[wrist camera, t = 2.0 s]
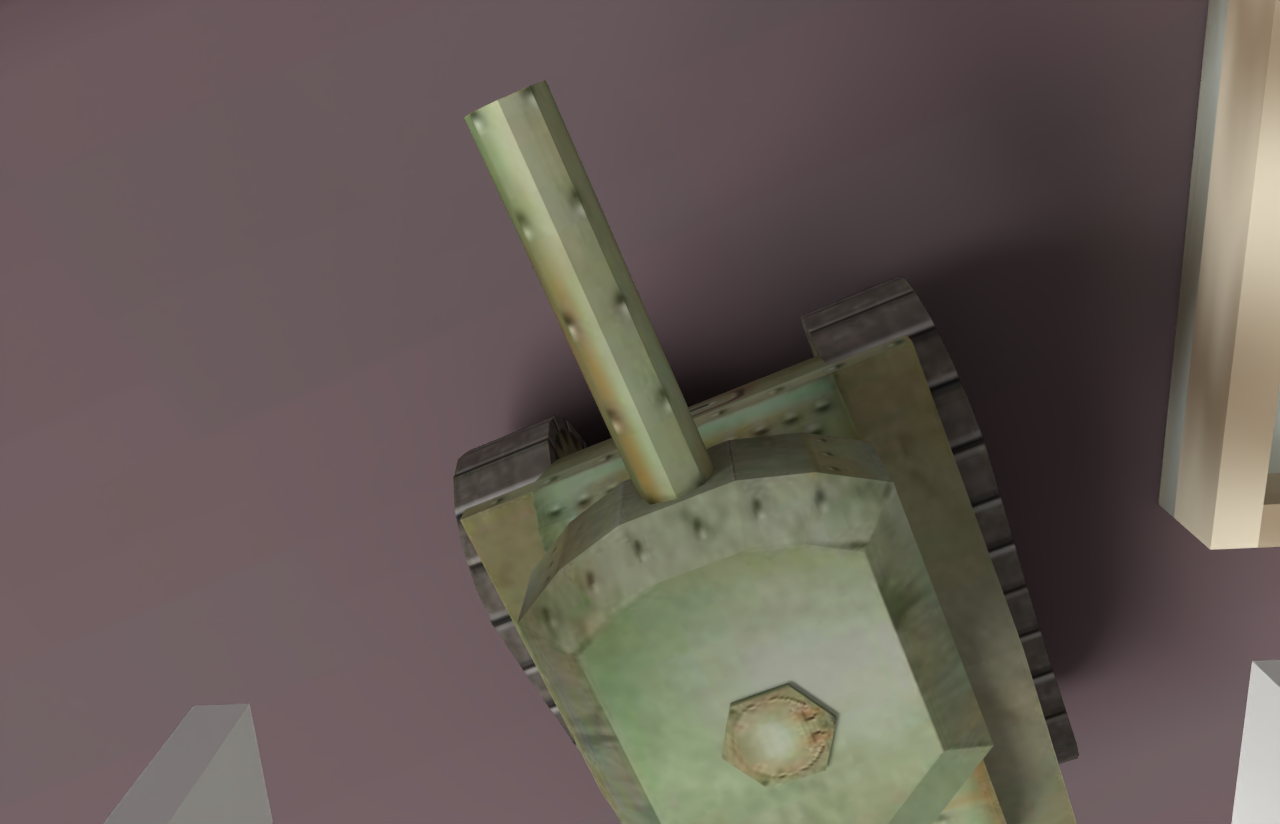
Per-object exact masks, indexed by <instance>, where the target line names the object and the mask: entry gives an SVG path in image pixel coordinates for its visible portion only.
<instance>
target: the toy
mask: <svg viewBox="0 0 1280 824" xmlns="http://www.w3.org/2000/svg"><path fill="white" fill-rule="evenodd" d="M464 119H465V121H466V123H467V125H468V127H469V130H470V132H471V134H472V136H473V138H474V140H475V143H476V145H477V147H478V149H479V151H480V153H481V156H482V158H483V160H484V162H485V164H486V166H487V169H488V171H489V173H490V175H491V177H492V179H493V182H494V184H495V186H496V188H497V190H498V192H499V194H500V197H501V199H502V201H503V203H504V205H505V207H506V210H507V212H508V214H509V216H510V218H511V220H512V223H513V225H514V227H515V229H516V231H517V233H518V236H519V238H520V240H521V242H522V244H523V246H524V249H525V251H526V253H527V255H528V257H529V259H530V261H531V264H532V266H533V268H534V270H535V272H536V274H537V277H538V279H539V281H540V283H541V285H542V287H543V290H544V292H545V294H546V296H547V298H548V300H549V303H550V305H551V307H552V309H553V311H554V313H555V316H556V318H557V320H558V322H559V324H560V326H561V328H562V331H563V333H564V335H565V337H566V339H567V341H568V344H569V346H570V348H571V350H572V352H573V354H574V357H575V359H576V361H577V363H578V365H579V367H580V370H581V372H582V374H583V376H584V378H585V380H586V383H587V385H588V387H589V389H590V391H591V393H592V395H593V398H594V400H595V402H596V404H597V406H598V408H599V411H600V413H601V415H602V417H603V419H604V421H605V424H606V426H607V428H608V430H609V432H610V434H611V437H612V438H610V439H607V440H605V441H602V442H600V443H597V444H595V445H592V446H590V447H587V445H586V443H585V442H584V440H583V439H582V437H581V436H580V434H579V433H578V432H577V431H576V430H575V429H574V427H573V426H572V425H571V424H570V423H569V422H568V421H567V420H566V419H564V418H561V417H559V416H557V415H556V416H553V417H551V418H548V419H546V420H543V421H541V422H538V423H536V424H534V425H531V426H529V427H526V428H524V429H521V430H519V431H516V432H514V433H511V434H509V435H506V436H504V437H502V438H499V439H497V440H494V441H492V442H489V443H487V444H484V445H482V446H479V447H477V448H474V449H472V450H470V451H468V452H466V453H465V454H464V455H463V456H462V457H460V458H459V459H458V463H457V467H456V471H455V475H454V505H455V513H456V518H457V523H458V528H459V533H460V538H461V543H462V547H463V550H464V553H465V557H466V560H467V563H468V566H469V569H470V572H471V575H472V578H473V581H474V584H475V587H476V589H477V591H478V594H479V596H480V598H481V600H482V602H483V605H484V607H485V609H486V611H487V613H488V616H489V618H490V620H491V622H492V624H493V626H494V627H495V629H496V630H497V632H498V633H499V635H500V636H501V638H502V639H503V641H504V642H505V644H506V645H507V647H508V648H509V650H510V651H511V653H512V654H513V656H514V657H515V659H516V660H517V662H518V663H519V664H520V666H521V667H522V669H523V670H524V672H525V673H526V675H527V676H528V678H529V679H530V681H531V682H532V684H533V685H534V687H535V688H536V690H537V691H538V693H539V694H540V695H541V697H542V698H543V700H544V701H545V702H546V704H547V705H548V706H549V708H550V709H551V711H552V712H553V713H554V715H555V716H556V718H557V719H558V720H559V722H560V723H561V725H562V726H563V728H564V729H565V731H566V732H567V734H568V735H569V737H570V738H571V740H572V741H573V743H574V744H575V746H576V747H577V749H578V750H579V752H580V753H581V755H582V756H583V758H584V760H585V761H586V763H587V765H588V767H589V769H590V771H591V773H592V775H593V777H594V779H595V781H596V783H597V785H598V787H599V788H600V790H601V792H602V794H603V795H604V797H605V798H606V800H607V801H608V802H609V804H610V805H611V807H612V808H613V810H614V811H615V813H616V815H617V817H618V818H619V820H620V822H621V824H1076V820H1075V816H1074V813H1073V810H1072V807H1071V803H1070V800H1069V797H1068V793H1067V790H1066V787H1065V784H1064V780H1063V777H1062V774H1061V771H1060V767H1059V764H1062V763H1065V762H1068V761H1071V760H1074V759H1077V758H1078V756H1079V754H1078V749H1077V744H1076V741H1075V737H1074V734H1073V731H1072V728H1071V725H1070V722H1069V719H1068V716H1067V713H1066V709H1065V706H1064V703H1063V700H1062V697H1061V694H1060V691H1059V688H1058V685H1057V682H1056V678H1055V675H1054V672H1053V669H1052V666H1051V663H1050V660H1049V657H1048V654H1047V650H1046V647H1045V644H1044V641H1043V638H1042V634H1041V631H1040V628H1039V624H1038V621H1037V618H1036V615H1035V611H1034V608H1033V605H1032V601H1031V598H1030V595H1029V592H1028V588H1027V585H1026V582H1025V578H1024V575H1023V572H1022V568H1021V565H1020V562H1019V558H1018V555H1017V551H1016V548H1015V544H1014V541H1013V537H1012V534H1011V530H1010V527H1009V523H1008V520H1007V516H1006V513H1005V510H1004V506H1003V503H1002V499H1001V496H1000V493H999V489H998V486H997V483H996V479H995V476H994V473H993V469H992V466H991V462H990V459H989V456H988V452H987V449H986V446H985V442H984V439H983V436H982V434H981V431H980V428H979V426H978V423H977V421H976V418H975V415H974V413H973V410H972V407H971V405H970V402H969V399H968V397H967V395H966V392H965V390H964V388H963V385H962V383H961V381H960V378H959V376H958V374H957V372H956V369H955V367H954V365H953V362H952V360H951V358H950V355H949V353H948V351H947V349H946V347H945V345H944V343H943V341H942V339H941V337H940V335H939V333H938V331H937V329H936V327H935V325H934V323H933V321H932V319H931V318H930V316H929V314H928V312H927V311H926V309H925V307H924V306H923V304H922V302H921V301H920V299H919V297H918V295H917V294H916V292H915V291H914V290H913V289H912V287H911V286H910V285H909V284H908V282H907V281H906V280H905V279H904V278H901V277H896V278H893V279H891V280H888V281H886V282H883V283H881V284H878V285H876V286H873V287H871V288H868V289H866V290H864V291H861V292H859V293H856V294H854V295H851V296H849V297H846V298H844V299H841V300H839V301H836V302H834V303H832V304H829V305H827V306H824V307H822V308H819V309H817V310H814V311H812V312H809V313H807V314H804V315H802V316H800V317H801V321H802V325H803V328H804V331H805V334H806V337H807V339H808V342H809V345H810V348H811V350H812V353H813V356H814V357H813V358H810V359H808V360H805V361H803V362H800V363H798V364H795V365H793V366H790V367H788V368H785V369H783V370H780V371H778V372H775V373H773V374H770V375H768V376H765V377H763V378H760V379H758V380H755V381H753V382H750V383H748V384H745V385H743V386H740V387H738V388H735V389H733V390H730V391H728V392H725V393H723V394H720V395H718V396H715V397H713V398H710V399H708V400H705V401H703V402H700V403H698V404H695V405H693V406H690V407H688V406H687V404H686V401H685V399H684V397H683V395H682V392H681V390H680V388H679V385H678V383H677V381H676V379H675V376H674V374H673V372H672V369H671V367H670V365H669V362H668V360H667V358H666V356H665V353H664V351H663V349H662V346H661V344H660V342H659V340H658V337H657V335H656V333H655V330H654V328H653V326H652V323H651V321H650V319H649V317H648V314H647V312H646V310H645V307H644V305H643V303H642V300H641V298H640V296H639V294H638V291H637V289H636V287H635V284H634V282H633V280H632V278H631V275H630V273H629V271H628V268H627V266H626V264H625V261H624V259H623V257H622V255H621V252H620V250H619V248H618V245H617V243H616V241H615V238H614V236H613V234H612V232H611V229H610V227H609V225H608V222H607V220H606V218H605V216H604V213H603V211H602V209H601V206H600V204H599V202H598V199H597V197H596V195H595V193H594V190H593V188H592V186H591V183H590V181H589V179H588V177H587V174H586V172H585V170H584V167H583V165H582V163H581V160H580V158H579V156H578V154H577V151H576V149H575V147H574V144H573V142H572V140H571V137H570V135H569V133H568V131H567V128H566V126H565V124H564V121H563V119H562V117H561V115H560V112H559V110H558V108H557V105H556V103H555V101H554V98H553V96H552V94H551V92H550V89H549V87H548V85H547V82H546V80H545V81H542V82H540V83H537V84H534V85H531V86H529V87H526V88H524V89H522V90H520V91H517V92H515V93H513V94H510V95H508V96H506V97H504V98H501V99H499V100H497V101H495V102H493V103H491V104H488V105H486V106H484V107H482V108H480V109H478V110H476V111H474V112H472V113H470V114H468V115H467V116H466V117H464Z"/></svg>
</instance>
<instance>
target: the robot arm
mask: <svg viewBox="0 0 1280 824" xmlns="http://www.w3.org/2000/svg"><path fill="white" fill-rule="evenodd" d="M103 824H273V822H272V816H271V811H270V806H269V801H268V796H267V791H266V786H265V781H264V775H263V770H262V765H261V760H260V755H259V750H258V745H257V740H256V734H255V729H254V724H253V719H252V714H251V709H250V704H226V705H202V706H193V707H192V708H191V709H190V711H189V712H188V713H187V714H186V716H185V717H184V718H183V720H182V721H181V722H180V724H179V725H178V726H177V728H176V729H175V730H174V731H173V733H172V734H171V735H170V737H169V738H168V739H167V741H166V742H165V743H164V745H163V746H162V747H161V749H160V750H159V751H158V752H157V754H156V755H155V756H154V758H153V759H152V760H151V762H150V763H149V764H148V766H147V767H146V768H145V769H144V771H143V772H142V773H141V775H140V776H139V777H138V779H137V780H136V781H135V783H134V784H133V785H132V786H131V788H130V789H129V790H128V792H127V793H126V794H125V796H124V797H123V798H122V800H121V801H120V802H119V803H118V805H117V806H116V807H115V809H114V810H113V811H112V813H111V814H110V815H109V817H108V818H107V819H106V820H105V822H104V823H103ZM1232 824H1280V660H1264V661H1252V667H1251V675H1250V683H1249V690H1248V698H1247V706H1246V714H1245V722H1244V730H1243V738H1242V746H1241V754H1240V761H1239V769H1238V777H1237V785H1236V793H1235V801H1234V809H1233V817H1232Z"/></svg>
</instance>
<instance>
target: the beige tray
mask: <svg viewBox="0 0 1280 824" xmlns="http://www.w3.org/2000/svg"><path fill="white" fill-rule="evenodd" d="M1158 504H1159V505H1160V506H1161V507H1162V508H1163V509H1164V510H1166V511H1167V512H1168V513H1169V514H1170V515H1171V516H1172V517H1174V518H1175V519H1176V520H1177V521H1178V522H1179V523H1180V524H1182V525H1183V526H1184V527H1185V528H1186V529H1187V530H1189V531H1190V532H1191V533H1192V534H1193V535H1194V536H1195V537H1197V538H1198V539H1199V540H1200V541H1201V542H1202V543H1203V544H1205V545H1206V546H1207V547H1208V548H1209V549H1210V550H1213V549H1236V548H1259V547H1280V0H1209V4H1208V14H1207V24H1206V34H1205V44H1204V54H1203V64H1202V74H1201V84H1200V94H1199V104H1198V114H1197V124H1196V134H1195V144H1194V154H1193V164H1192V174H1191V184H1190V194H1189V204H1188V214H1187V223H1186V233H1185V243H1184V253H1183V263H1182V273H1181V283H1180V293H1179V303H1178V313H1177V323H1176V333H1175V343H1174V353H1173V363H1172V373H1171V383H1170V393H1169V403H1168V413H1167V423H1166V433H1165V443H1164V453H1163V463H1162V473H1161V483H1160V493H1159V503H1158Z"/></svg>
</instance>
